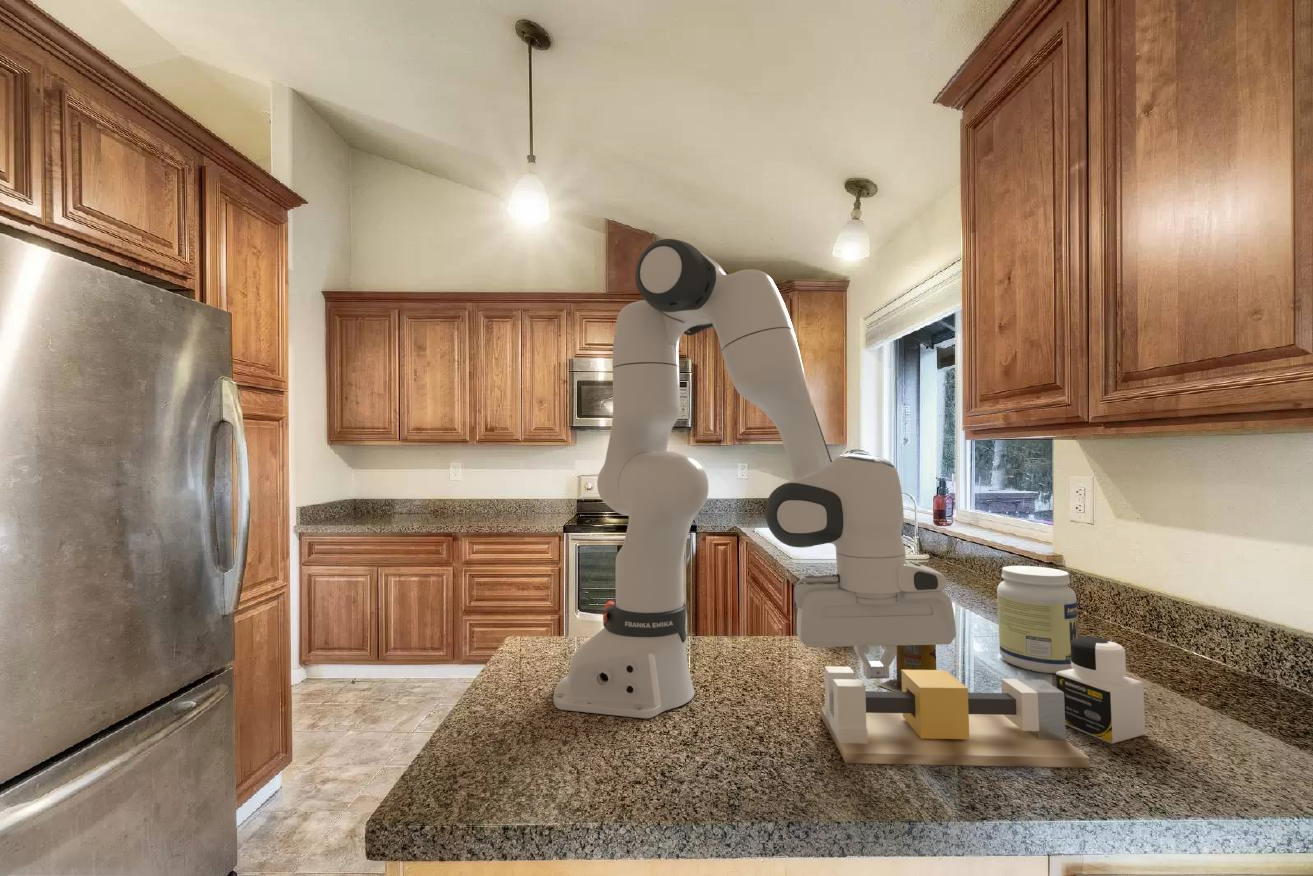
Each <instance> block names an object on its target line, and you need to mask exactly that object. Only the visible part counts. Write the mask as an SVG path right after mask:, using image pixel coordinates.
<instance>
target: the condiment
mask: <svg viewBox="0 0 1313 876" xmlns="http://www.w3.org/2000/svg"><path fill="white" fill-rule="evenodd" d="M895 660H896V661H895V663H896V664H895V665H896V678H893V679H889V680H887V681H883V682H879V683H877V685H878V686H879V687H882V688H884V689H887V690H890V692H902V674H901V670H937V646H936V645H897V654H896V656H895Z"/></svg>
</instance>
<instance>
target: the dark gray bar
mask: <svg viewBox="0 0 1313 876" xmlns="http://www.w3.org/2000/svg"><path fill="white" fill-rule="evenodd" d="M865 691H866V690H865ZM833 706H834V697H833ZM968 711H969V714H991V715H1016V699H1015V698H1013V697H1012V696H1011V695H1009V694H1008V693H1002V692H968ZM866 713H915V695H914V694H913V693H912V692H894V691H866Z"/></svg>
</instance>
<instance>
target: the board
mask: <svg viewBox="0 0 1313 876" xmlns="http://www.w3.org/2000/svg"><path fill="white" fill-rule="evenodd" d="M820 717H821V719H822V721H823V723H824V725H825V726H826V728H828V729H827V731H828V730H829V731H828V732H829V735H830V736H831V738H832V740H833V741H834V744H835V745H836V748H837V749H838V752H839V751H840V752H839V753H840V755H841V757H842V759H843V761H844V762H845V764H879V765H880V764H882V765H885V764H887V765H929V766H930V765H931V766H932V765H933V766H983V767H985V766H986V767H989V766H990V767H1028V768H1029V767H1031V768H1032V767H1033V768H1035V767H1037V768H1039V767H1040V768H1078V769H1079V768H1080V769H1081V768H1082V769H1083V768H1084V769H1085V768H1087V769H1089V768H1090V767H1091V763H1090V756H1088V755H1087V754H1085V753H1084V752H1082V751H1081V750H1080V749H1079V748H1077V747H1076V746H1075V745H1073V744H1072V743H1070V742H1069V741H1067V739H1066V740H1038V739H1037V738H1036V737H1034V736H1033V735H1032V734H1031V733H1029V732H1028V731H1023V730H1021V729H1020V728H1019V727H1018V726H1016V725H1015V724H1014V723H1013V722H1011V721H1010V720H1009V719H1008V718H1006V717H1005V716H1004V715H991V714H969V739H930V738H921V737H920V736H919V735H918V734H917V733H916V731H915V730H914V729H913V728H912V727H911V726H910V724H909V723H908V722H907V721H906V720H905V718H904V717H903V713H866V728H867V733H868V744H860V743H840V742H839V741H838V739H837V737H836V735H835V733H834V731H833V729H832V728H831V726H830V724H829V722H828V720H827V718H826V717H825V707H821V708H820Z"/></svg>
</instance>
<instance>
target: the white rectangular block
mask: <svg viewBox="0 0 1313 876" xmlns="http://www.w3.org/2000/svg"><path fill="white" fill-rule="evenodd" d="M1000 681H1001V683H1000V684H1001V693H1008V694H1009V695H1011V696H1012V697H1013V698H1015V699H1016V715H1004V716H1005V717H1006V718H1008V719H1009V720H1010V721H1011V722H1013V723H1014V724H1015V725H1016V726H1018V727H1019V728H1020V729H1021V730H1023V731H1039V715H1038V693H1037V692H1036V691H1034V690H1032V689H1031V688H1029V687H1028V686H1026V685H1025V684H1023V683H1022V682H1020V681H1019V680H1017V678H1001V679H1000Z"/></svg>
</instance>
